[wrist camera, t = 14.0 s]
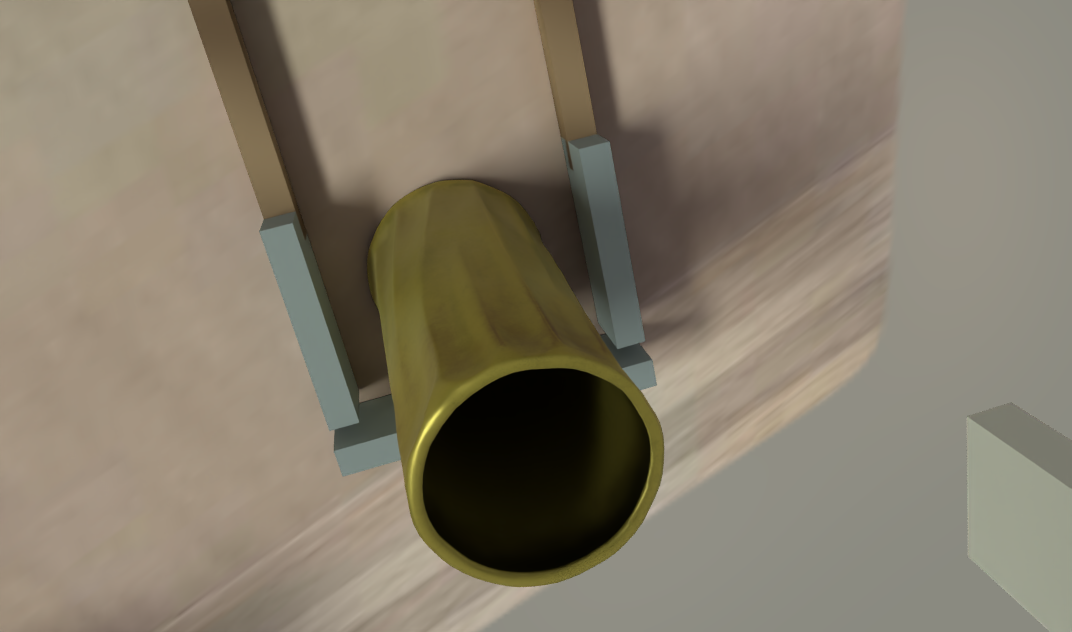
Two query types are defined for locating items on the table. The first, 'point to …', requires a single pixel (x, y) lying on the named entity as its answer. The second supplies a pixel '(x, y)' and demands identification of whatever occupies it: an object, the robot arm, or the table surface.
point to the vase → (505, 393)
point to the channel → (256, 129)
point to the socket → (372, 424)
